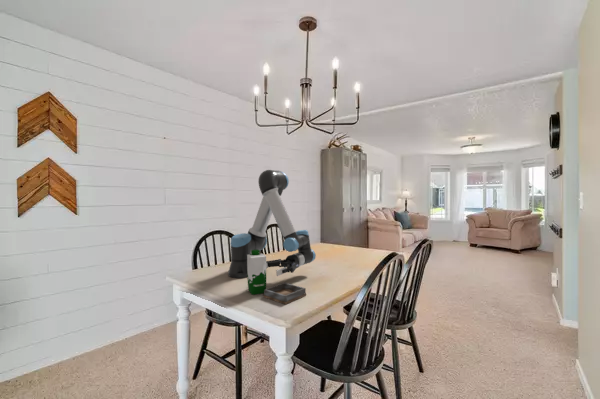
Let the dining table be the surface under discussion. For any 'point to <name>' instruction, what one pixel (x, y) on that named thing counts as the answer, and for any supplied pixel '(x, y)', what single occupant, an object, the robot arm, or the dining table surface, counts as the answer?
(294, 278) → the dining table surface
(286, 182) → the robot arm
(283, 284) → the dark gray tray
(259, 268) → the soya milk
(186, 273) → the dining table surface
